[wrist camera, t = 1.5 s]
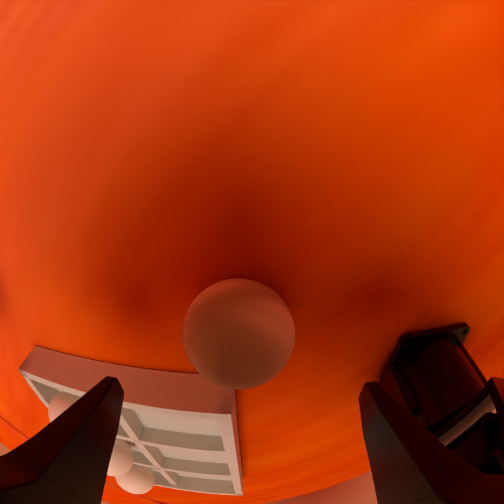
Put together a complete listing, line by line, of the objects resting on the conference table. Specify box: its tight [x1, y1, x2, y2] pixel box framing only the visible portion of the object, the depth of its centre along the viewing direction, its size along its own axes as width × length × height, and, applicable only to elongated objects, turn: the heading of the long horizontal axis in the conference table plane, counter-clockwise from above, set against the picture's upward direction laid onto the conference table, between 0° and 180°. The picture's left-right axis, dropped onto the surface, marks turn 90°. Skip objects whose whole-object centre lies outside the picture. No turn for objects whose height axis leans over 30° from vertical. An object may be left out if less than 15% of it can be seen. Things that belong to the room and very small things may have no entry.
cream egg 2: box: [107, 438, 134, 476], centre depth 18 cm, size 5×5×5 cm
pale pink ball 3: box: [115, 464, 154, 494], centre depth 21 cm, size 5×5×5 cm
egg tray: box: [19, 346, 243, 495], centre depth 19 cm, size 17×22×3 cm
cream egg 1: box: [48, 391, 81, 423], centre depth 15 cm, size 5×5×5 cm
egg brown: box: [182, 278, 295, 389], centre depth 11 cm, size 5×5×5 cm
